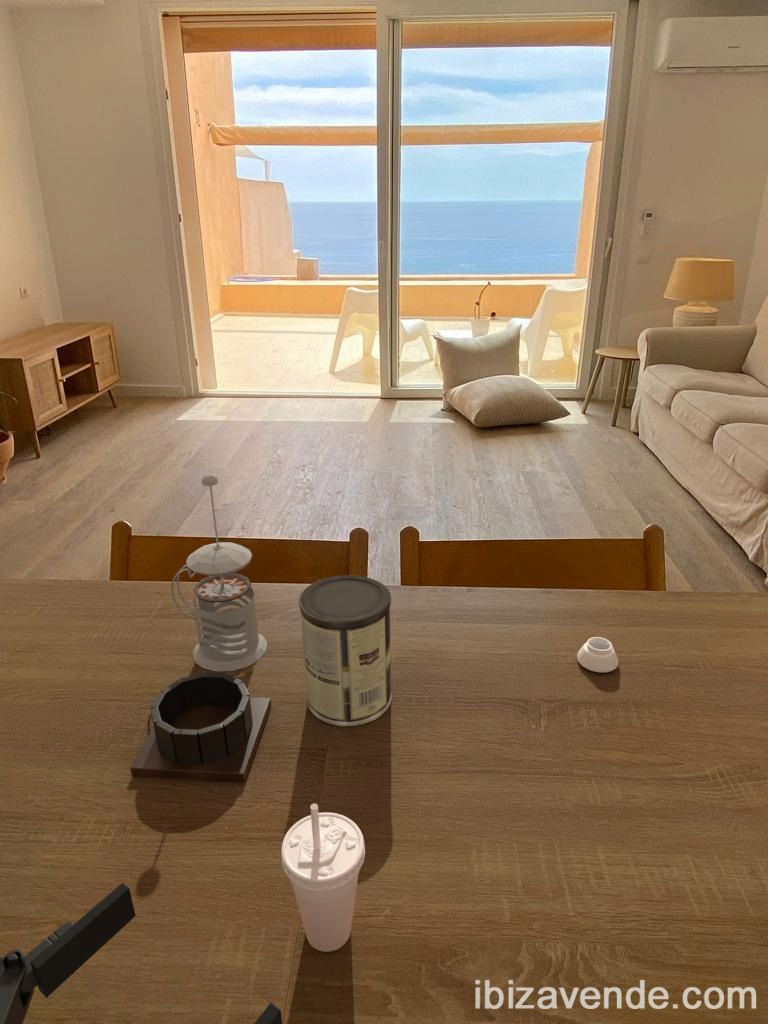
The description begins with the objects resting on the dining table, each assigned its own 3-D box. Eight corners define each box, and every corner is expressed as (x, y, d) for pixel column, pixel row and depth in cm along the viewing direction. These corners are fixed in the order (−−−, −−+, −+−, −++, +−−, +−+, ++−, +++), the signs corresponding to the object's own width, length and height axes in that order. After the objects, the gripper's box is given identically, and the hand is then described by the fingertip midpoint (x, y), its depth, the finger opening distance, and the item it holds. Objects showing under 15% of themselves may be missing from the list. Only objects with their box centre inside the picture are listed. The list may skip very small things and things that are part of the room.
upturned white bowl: (591, 646, 92) (569, 662, 89) (593, 628, 91) (571, 643, 88) (624, 663, 89) (603, 680, 86) (628, 644, 88) (606, 660, 85)
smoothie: (273, 929, 57) (258, 802, 51) (332, 880, 61) (325, 757, 55) (323, 986, 53) (314, 855, 47) (383, 929, 57) (381, 802, 51)
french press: (253, 674, 88) (233, 491, 77) (167, 667, 89) (136, 486, 79) (276, 631, 96) (261, 462, 86) (197, 625, 98) (173, 458, 88)
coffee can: (337, 662, 90) (332, 566, 84) (407, 688, 85) (407, 587, 79) (288, 708, 82) (279, 605, 76) (362, 739, 77) (359, 632, 71)
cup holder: (131, 776, 72) (123, 737, 70) (172, 701, 83) (166, 665, 81) (244, 782, 71) (240, 743, 69) (271, 705, 82) (267, 669, 80)
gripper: (-280, 1205, 36) (89, 895, 51) (-36, 1783, 22) (358, 1125, 38) (-343, 1122, 33) (69, 820, 48) (-105, 1733, 19) (354, 1042, 35)
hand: (197, 954), depth 43 cm, fingers open, 13 cm apart
